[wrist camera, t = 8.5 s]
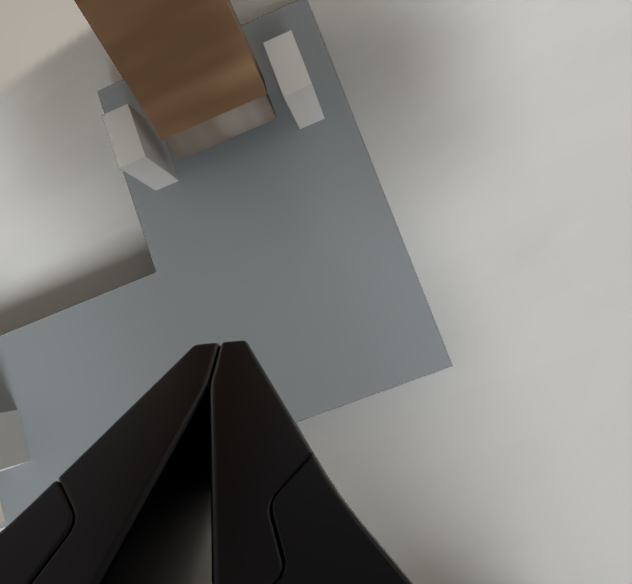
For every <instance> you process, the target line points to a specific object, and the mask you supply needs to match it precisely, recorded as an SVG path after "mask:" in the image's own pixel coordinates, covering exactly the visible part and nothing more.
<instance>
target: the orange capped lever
mask: <svg viewBox="0 0 632 584" xmlns="http://www.w3.org/2000/svg"><path fill="white" fill-rule="evenodd" d="M75 2H76V4H77V5H78V7H79V8H80V10H81V12H82V13H83V15H84V16H85V18H86V20H87V21H88V23H89V24H90V26H91V28H92V29H93V31H94V32H95V34H96V36H97V37H98V39H99V40H100V42H101V43H102V45H103V47H104V48H105V50H106V51H107V53H108V55H109V56H110V58H111V59H112V61H113V63H114V64H115V66H116V67H117V69H118V71H119V72H120V74H121V75H122V77H123V78H124V80H125V82H126V83H127V85H128V86H129V88H130V90H131V91H132V93H133V94H134V96H135V98H136V99H137V101H138V102H139V104H140V105H141V107H142V109H143V110H144V112H145V113H146V115H147V117H148V118H149V120H150V121H151V123H152V125H153V126H154V128H155V129H156V131H157V133H158V134H159V136H160V137H161V139H162V140H163V139H165V140H166V142H167V144H168V146H169V148H170V150H171V151H172V153H173V154H174V155H175V156H176V158H178V159H179V160H182V159H185V158H187V157H189V156H192V155H194V154H196V153H198V152H201V151H203V150H205V149H208V148H210V147H212V146H215V145H217V144H219V143H222V142H224V141H226V140H229V139H231V138H233V137H236V136H238V135H240V134H243V133H245V132H247V131H250V130H252V129H254V128H257V127H259V126H261V125H263V124H266V123H268V122H270V121H273V120H275V119H277V117H276V113H275V110H274V108H273V105H272V102H271V100H270V97H269V95H268V93H267V89H266V85H265V81H264V77H263V75H262V73H261V70H260V68H259V66H258V64H257V61H256V59H255V57H254V55H253V52H252V50H251V48H250V45H249V43H248V41H247V39H246V36H245V34H244V32H243V30H242V27H241V25H240V23H239V21H238V18H237V16H236V14H235V12H234V9H233V7H232V5H231V2H230V0H75Z"/></svg>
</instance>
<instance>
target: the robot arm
mask: <svg viewBox="0 0 632 584" xmlns="http://www.w3.org/2000/svg"><path fill="white" fill-rule="evenodd" d="M58 480H59V482H58V481H55V482H53V483H52V484H51V485H50V486H49V487H48V488H47V489H46V490H45V491H44V492H43V493H42V494H41V495H40V496H39V497H38V498H37V499H36V500H35V501H34V502H33V503H31V504H30V505H29V506H28V507H27V508H26V509H25V510H24V511H23V512H22V513H21V514H20V515H19V516H18V517H16V518H15V519H14V520H13V521H12V522H11V523H10V524H9V525H8V526H7V527H6V528H5V529H4V530H2V531H1V532H0V584H413V583H412V581H411V580H410V579H409V578H408V577H407V576H406V574H405V573H404V572H403V571H402V570H401V568H400V567H399V566H398V565H397V564H396V563H395V561H394V560H393V559H392V558H391V557H390V555H389V554H388V553H387V552H386V551H385V550H384V548H383V547H382V546H381V545H380V544H379V542H378V541H377V540H376V539H375V538H374V537H373V535H372V534H371V533H370V532H369V531H368V530H367V528H366V527H365V526H364V525H363V524H362V522H361V521H360V520H359V518H358V517H357V516H356V515H355V513H354V512H353V511H352V510H351V508H350V507H349V506H348V504H347V503H346V502H345V501H344V499H343V498H342V497H341V495H340V494H339V492H338V491H337V489H336V488H335V486H334V484H333V483H332V481H331V480H330V478H329V477H328V475H327V474H326V472H325V471H324V469H323V467H322V466H321V464H320V462H319V461H318V459H317V458H316V457H315V455H314V453H313V451H312V449H311V448H310V446H309V444H308V443H307V441H306V439H305V438H304V436H303V434H302V433H301V431H300V429H299V428H298V426H297V424H296V423H295V421H294V419H293V418H292V416H291V414H290V413H289V411H288V409H287V408H286V406H285V404H284V403H283V401H282V399H281V398H280V396H279V394H278V393H277V391H276V389H275V388H274V386H273V384H272V383H271V381H270V379H269V378H268V376H267V374H266V373H265V371H264V369H263V368H262V366H261V364H260V363H259V361H258V359H257V358H256V356H255V354H254V353H253V351H252V349H251V347H250V346H249V344H248V343H247V342H246V341H244V340H241V341H230V342H224V343H222V344H221V346H220V345H219V344H218V343H209V344H197V345H194V346H193V347H192V348H191V349H190V350H189V351H188V352H187V353H186V354H185V355H184V356H183V357H182V358H181V359H180V360H179V361H177V362H176V363H175V364H174V365H173V366H172V367H171V368H170V369H169V370H168V371H167V372H166V373H165V374H164V375H163V376H162V377H161V378H160V379H159V380H158V381H157V382H156V383H155V384H154V385H153V386H152V387H151V388H150V389H149V390H148V391H147V392H146V393H145V394H144V395H143V396H142V397H141V398H140V399H139V400H137V401H136V402H135V403H134V404H133V405H132V406H131V407H130V408H129V409H128V410H127V411H126V412H125V413H124V414H123V415H122V416H121V417H120V418H119V419H118V420H117V421H116V422H115V423H114V424H113V425H112V426H111V427H110V428H109V429H108V430H107V431H106V432H105V433H104V434H103V435H102V436H101V437H100V438H99V439H98V440H96V441H95V442H94V443H93V444H92V445H91V446H90V447H89V448H88V449H87V450H86V451H85V452H84V453H83V454H82V455H81V456H80V457H79V458H78V459H77V460H76V461H75V462H74V463H73V464H72V465H71V466H70V467H69V468H68V469H67V470H66V471H65V472H64V473H63V474H62V475H61V476H60V477H59V478H58Z"/></svg>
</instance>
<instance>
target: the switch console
mask: <svg viewBox="0 0 632 584" xmlns="http://www.w3.org/2000/svg"><path fill="white" fill-rule="evenodd" d="M241 27H242V30H243V32H244V34H245V36H246V39H247V41H248V43H249V45H250V48H251V50H252V52H253V55H254V57H255V59H256V61H257V64H258V66H259V68H260V70H261V73H262V75H263V77H264V81H265V85H266V89H267V93H268V95H269V97H270V100H271V102H272V105H273V108H274V110H275V113H276V117H277V119H275V120H273V121H270V122H268V123H266V124H263V125H261V126H259V127H257V128H254V129H252V130H250V131H247V132H245V133H243V134H240V135H238V136H236V137H233V138H231V139H229V140H226V141H224V142H222V143H219V144H217V145H215V146H212V147H210V148H208V149H205V150H203V151H201V152H198V153H196V154H194V155H192V156H189V157H187V158H185V159H182V160H179V159H178V158H176V156H175V155H174V154H173V153H172V151H171V150H170V148H169V146H168V144H167V142H166V140H165V139H163V140H162V139H161V137H160V136H159V134H158V133H157V131H156V129H155V128H154V126H153V125H152V123H151V121H150V120H149V118H148V117H147V115H146V113H145V112H144V110H143V109H142V107H141V105H140V104H139V102H138V101H137V99H136V98H135V96H134V94H133V93H132V91H131V90H130V88H129V86H128V85H127V83H126V82H125V80H121V81H119V82H117V83H115V84H113V85H110V86H108V87H106V88H104V89H102V90H99V91H97V92H98V95H99V98H100V101H101V105H102V108H103V111H104V115H102V118H103V121H104V124H105V127H106V130H107V133H108V136H109V139H110V142H111V145H112V148H113V152H114V155H115V158H116V161H117V164H118V167H119V168H120V169H121V170H123V172H124V175H125V178H126V181H127V184H128V188H129V191H130V194H131V197H132V200H133V203H134V206H135V209H136V212H137V215H138V218H139V221H140V224H141V228H142V231H143V234H144V237H145V240H146V243H147V246H148V249H149V252H150V255H151V258H152V261H153V264H154V267H155V271H156V272H155V273H153V274H151V275H148V276H146V277H143V278H141V279H138V280H136V281H133V282H131V283H128V284H126V285H123V286H121V287H119V288H116V289H114V290H111V291H109V292H106V293H104V294H101V295H99V296H96V297H94V298H92V299H89V300H87V301H84V302H82V303H79V304H77V305H74V306H72V307H69V308H67V309H64V310H62V311H60V312H57V313H55V314H52V315H50V316H47V317H45V318H42V319H40V320H37V321H35V322H33V323H30V324H28V325H25V326H23V327H20V328H18V329H15V330H13V331H10V332H8V333H5V334H3V335H1V336H0V528H3V527H6V526H8V525H9V524H10V523H11V522H12V521H13V520H14V519H15V518H16V517H18V516H19V515H20V514H21V513H22V512H23V511H24V510H25V509H26V508H27V507H28V506H29V505H30V504H31V503H33V502H34V501H35V500H36V499H37V498H38V497H39V496H40V495H41V494H42V493H43V492H44V491H45V490H46V489H47V488H48V487H49V486H50V485H51V484H52V483H53V482H55V481H58V482H59V480H58V478H59V477H60V476H61V475H62V474H63V473H64V472H65V471H66V470H67V469H68V468H69V467H70V466H71V465H72V464H73V463H74V462H75V461H76V460H77V459H78V458H79V457H80V456H81V455H82V454H83V453H84V452H85V451H86V450H87V449H88V448H89V447H90V446H91V445H92V444H93V443H94V442H95V441H96V440H98V439H99V438H100V437H101V436H102V435H103V434H104V433H105V432H106V431H107V430H108V429H109V428H110V427H111V426H112V425H113V424H114V423H115V422H116V421H117V420H118V419H119V418H120V417H121V416H122V415H123V414H124V413H125V412H126V411H127V410H128V409H129V408H130V407H131V406H132V405H133V404H134V403H135V402H136V401H137V400H139V399H140V398H141V397H142V396H143V395H144V394H145V393H146V392H147V391H148V390H149V389H150V388H151V387H152V386H153V385H154V384H155V383H156V382H157V381H158V380H159V379H160V378H161V377H162V376H163V375H164V374H165V373H166V372H167V371H168V370H169V369H170V368H171V367H172V366H173V365H174V364H175V363H176V362H177V361H179V360H180V359H181V358H182V357H183V356H184V355H185V354H186V353H187V352H188V351H189V350H190V349H191V348H192V347H193V346H194V345H197V344H209V343H218V344H219V345H220V346H221V344H222V343H224V342H230V341H241V340H244V341H246V342H247V343H248V344H249V346H250V347H251V349H252V351H253V353H254V354H255V356H256V358H257V359H258V361H259V363H260V364H261V366H262V368H263V369H264V371H265V373H266V374H267V376H268V378H269V379H270V381H271V383H272V384H273V386H274V388H275V389H276V391H277V393H278V394H279V396H280V398H281V399H282V401H283V403H284V404H285V406H286V408H287V409H288V411H289V413H290V414H291V416H292V418H293V419H294V421H295V422H298V421H301V420H304V419H306V418H309V417H312V416H315V415H318V414H320V413H323V412H326V411H329V410H331V409H334V408H337V407H340V406H343V405H345V404H348V403H351V402H354V401H356V400H359V399H362V398H365V397H368V396H370V395H373V394H376V393H379V392H381V391H384V390H387V389H390V388H393V387H395V386H398V385H401V384H404V383H407V382H409V381H412V380H415V379H418V378H420V377H423V376H426V375H429V374H432V373H434V372H437V371H440V370H443V369H445V368H448V367H451V366H452V363H451V361H450V358H449V355H448V353H447V350H446V348H445V345H444V343H443V340H442V338H441V335H440V333H439V330H438V328H437V325H436V323H435V320H434V318H433V315H432V313H431V310H430V308H429V305H428V303H427V300H426V298H425V295H424V293H423V290H422V288H421V285H420V282H419V280H418V277H417V275H416V272H415V270H414V267H413V265H412V262H411V260H410V257H409V255H408V252H407V250H406V247H405V245H404V242H403V240H402V237H401V235H400V232H399V230H398V227H397V225H396V222H395V220H394V217H393V215H392V212H391V209H390V207H389V204H388V202H387V199H386V197H385V194H384V192H383V189H382V187H381V184H380V182H379V179H378V177H377V174H376V172H375V169H374V167H373V164H372V162H371V159H370V157H369V154H368V152H367V149H366V147H365V144H364V142H363V139H362V136H361V134H360V131H359V129H358V126H357V124H356V121H355V119H354V116H353V114H352V111H351V109H350V106H349V104H348V101H347V99H346V96H345V94H344V91H343V89H342V86H341V84H340V81H339V79H338V76H337V74H336V71H335V69H334V66H333V63H332V61H331V58H330V56H329V53H328V51H327V48H326V46H325V43H324V41H323V38H322V36H321V33H320V31H319V28H318V26H317V23H316V21H315V18H314V16H313V13H312V11H311V8H310V6H309V3H308V1H307V0H297V1H295V2H292V3H290V4H288V5H286V6H284V7H281V8H279V9H277V10H275V11H273V12H270V13H268V14H266V15H264V16H262V17H260V18H257V19H255V20H253V21H251V22H249V23H246V24H244V25H242V26H241Z"/></svg>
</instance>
